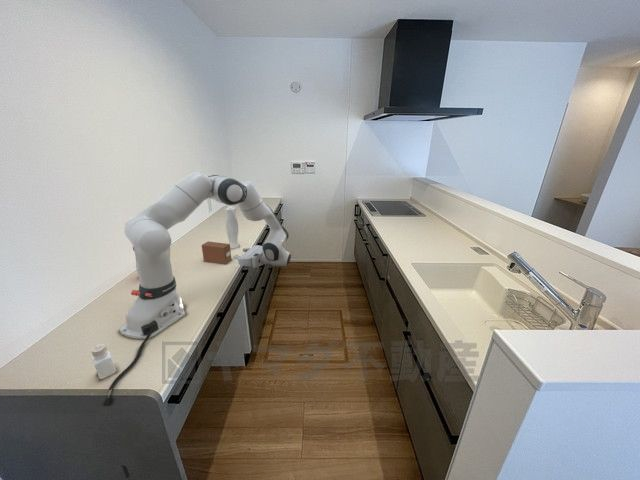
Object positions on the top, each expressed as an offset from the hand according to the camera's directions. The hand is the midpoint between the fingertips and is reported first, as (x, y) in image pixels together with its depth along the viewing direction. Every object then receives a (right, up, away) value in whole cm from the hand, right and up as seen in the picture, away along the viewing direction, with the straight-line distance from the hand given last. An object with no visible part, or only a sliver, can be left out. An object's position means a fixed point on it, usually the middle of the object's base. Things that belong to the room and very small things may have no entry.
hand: (238, 253), depth 146 cm
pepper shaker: (-19, -33, -68) cm, 77 cm away
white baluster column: (-11, +3, +25) cm, 27 cm away
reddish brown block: (-14, -4, +5) cm, 15 cm away
